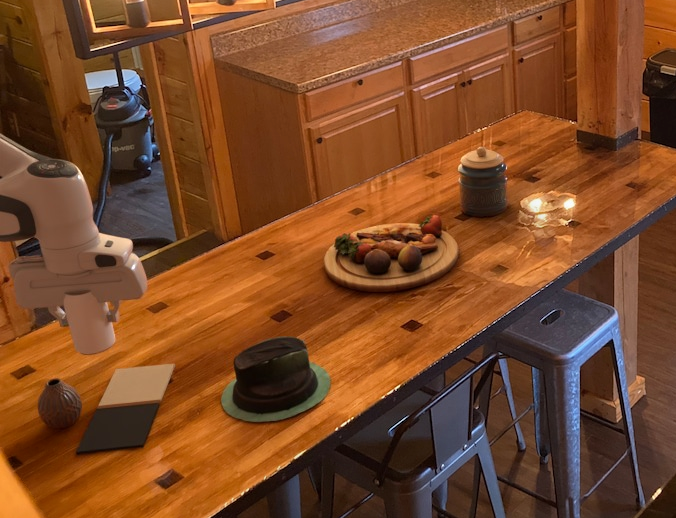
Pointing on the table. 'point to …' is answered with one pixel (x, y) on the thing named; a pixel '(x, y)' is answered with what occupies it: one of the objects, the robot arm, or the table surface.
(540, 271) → the table surface
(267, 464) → the table surface
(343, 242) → the wooden plate
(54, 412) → the vase
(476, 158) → the canister
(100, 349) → the can
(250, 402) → the fedora hat
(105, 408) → the sorting mat
